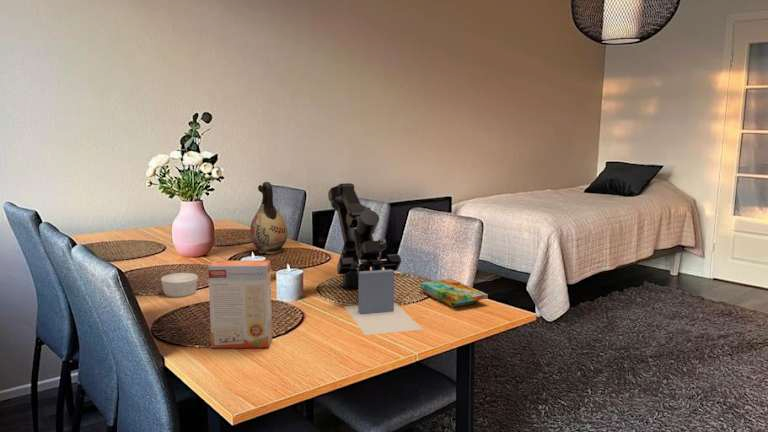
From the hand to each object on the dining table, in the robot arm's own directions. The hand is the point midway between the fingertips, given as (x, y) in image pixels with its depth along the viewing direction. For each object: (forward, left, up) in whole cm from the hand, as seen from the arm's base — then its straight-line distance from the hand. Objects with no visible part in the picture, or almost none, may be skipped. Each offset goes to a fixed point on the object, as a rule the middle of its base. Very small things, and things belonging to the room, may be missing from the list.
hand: (374, 289), depth 168 cm
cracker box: (-1, -42, -7) cm, 42 cm away
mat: (+6, -3, -7) cm, 10 cm away
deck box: (+2, -1, -6) cm, 6 cm away
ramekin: (-52, -37, -7) cm, 64 cm away
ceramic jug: (-84, +14, -7) cm, 86 cm away
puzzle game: (+7, +27, -7) cm, 28 cm away
